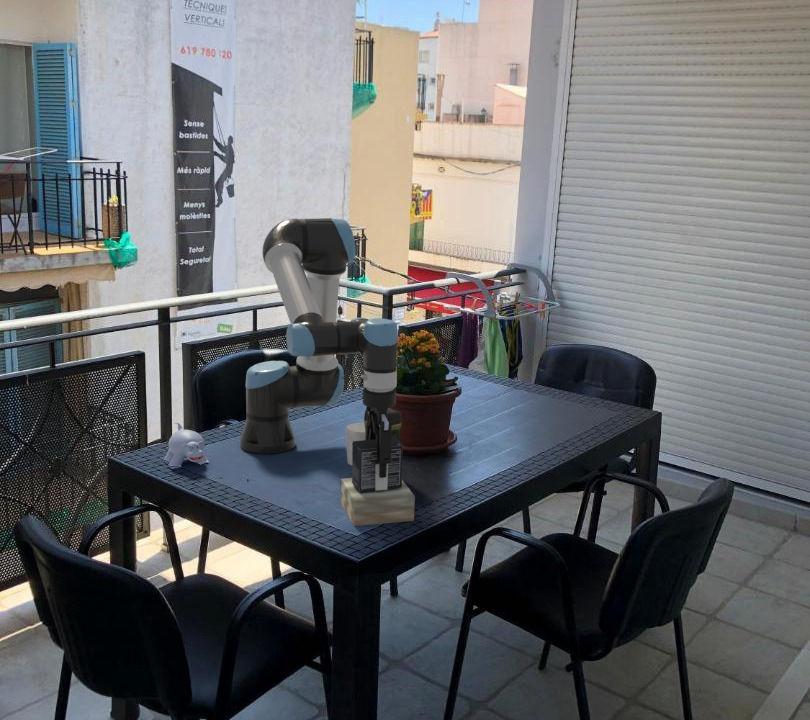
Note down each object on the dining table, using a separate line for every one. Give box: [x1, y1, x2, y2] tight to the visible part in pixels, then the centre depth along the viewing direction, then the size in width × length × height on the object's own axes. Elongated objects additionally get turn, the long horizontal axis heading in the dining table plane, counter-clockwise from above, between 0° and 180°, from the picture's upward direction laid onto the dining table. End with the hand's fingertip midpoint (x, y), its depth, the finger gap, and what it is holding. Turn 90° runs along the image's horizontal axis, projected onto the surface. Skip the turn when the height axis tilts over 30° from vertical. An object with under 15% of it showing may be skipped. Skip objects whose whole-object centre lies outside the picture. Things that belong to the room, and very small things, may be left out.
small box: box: [351, 437, 404, 492], centre depth 214 cm, size 11×6×10 cm, turn 110°
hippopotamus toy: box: [163, 422, 210, 466], centre depth 243 cm, size 11×15×10 cm
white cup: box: [345, 422, 365, 467], centre depth 247 cm, size 8×8×10 cm
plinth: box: [340, 477, 416, 527], centre depth 216 cm, size 14×14×6 cm
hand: (377, 483), depth 215 cm, fingers closed on small box, 6 cm apart
